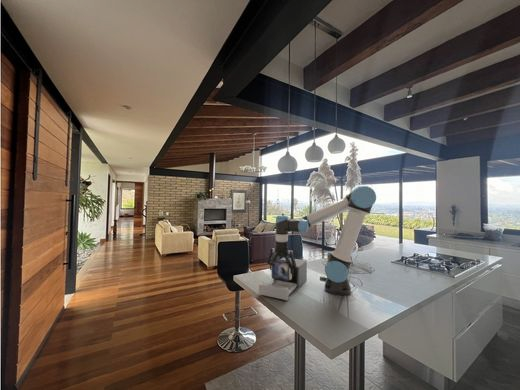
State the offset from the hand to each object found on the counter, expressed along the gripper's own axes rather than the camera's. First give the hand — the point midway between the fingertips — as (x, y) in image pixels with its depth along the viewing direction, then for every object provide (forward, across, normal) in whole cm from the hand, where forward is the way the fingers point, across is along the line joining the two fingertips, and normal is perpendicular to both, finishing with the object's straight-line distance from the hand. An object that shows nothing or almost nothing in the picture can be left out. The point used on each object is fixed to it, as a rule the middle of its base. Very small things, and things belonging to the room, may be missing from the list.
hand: (281, 277), depth 133 cm
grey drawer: (+7, 0, +3) cm, 7 cm away
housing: (+8, 0, -16) cm, 18 cm away
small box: (+1, 0, 0) cm, 1 cm away
